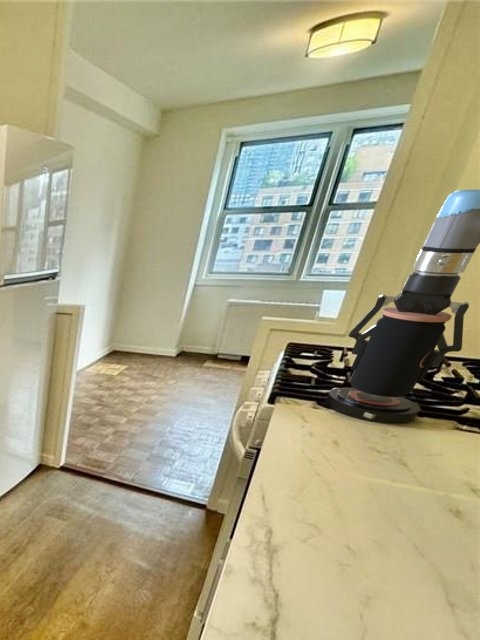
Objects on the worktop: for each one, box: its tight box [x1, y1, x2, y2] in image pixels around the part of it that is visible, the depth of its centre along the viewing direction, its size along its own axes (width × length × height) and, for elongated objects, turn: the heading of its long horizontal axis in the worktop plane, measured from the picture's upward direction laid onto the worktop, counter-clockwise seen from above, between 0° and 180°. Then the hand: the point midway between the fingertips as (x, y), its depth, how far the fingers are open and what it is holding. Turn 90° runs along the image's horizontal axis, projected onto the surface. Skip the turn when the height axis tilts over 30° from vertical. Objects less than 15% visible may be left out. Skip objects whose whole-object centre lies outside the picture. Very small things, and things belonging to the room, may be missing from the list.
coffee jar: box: [349, 306, 452, 398], centre depth 109 cm, size 11×11×18 cm
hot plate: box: [324, 387, 421, 425], centre depth 115 cm, size 16×16×3 cm
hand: (385, 373), depth 111 cm, fingers closed on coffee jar, 11 cm apart
